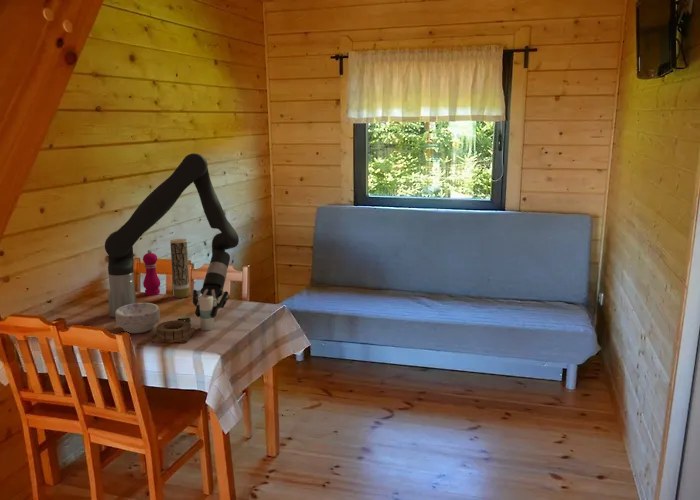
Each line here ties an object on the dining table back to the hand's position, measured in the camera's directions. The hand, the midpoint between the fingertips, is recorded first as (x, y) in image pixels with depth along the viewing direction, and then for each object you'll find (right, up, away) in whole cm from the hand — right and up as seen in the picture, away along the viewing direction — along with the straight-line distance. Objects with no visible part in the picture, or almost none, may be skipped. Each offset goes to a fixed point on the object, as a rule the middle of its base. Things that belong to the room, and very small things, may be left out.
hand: (205, 316), depth 212 cm
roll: (0, -5, +3) cm, 6 cm away
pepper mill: (-35, +5, +45) cm, 57 cm away
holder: (-10, -7, -6) cm, 13 cm away
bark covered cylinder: (-21, +4, +42) cm, 47 cm away
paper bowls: (-25, -5, +1) cm, 25 cm away
